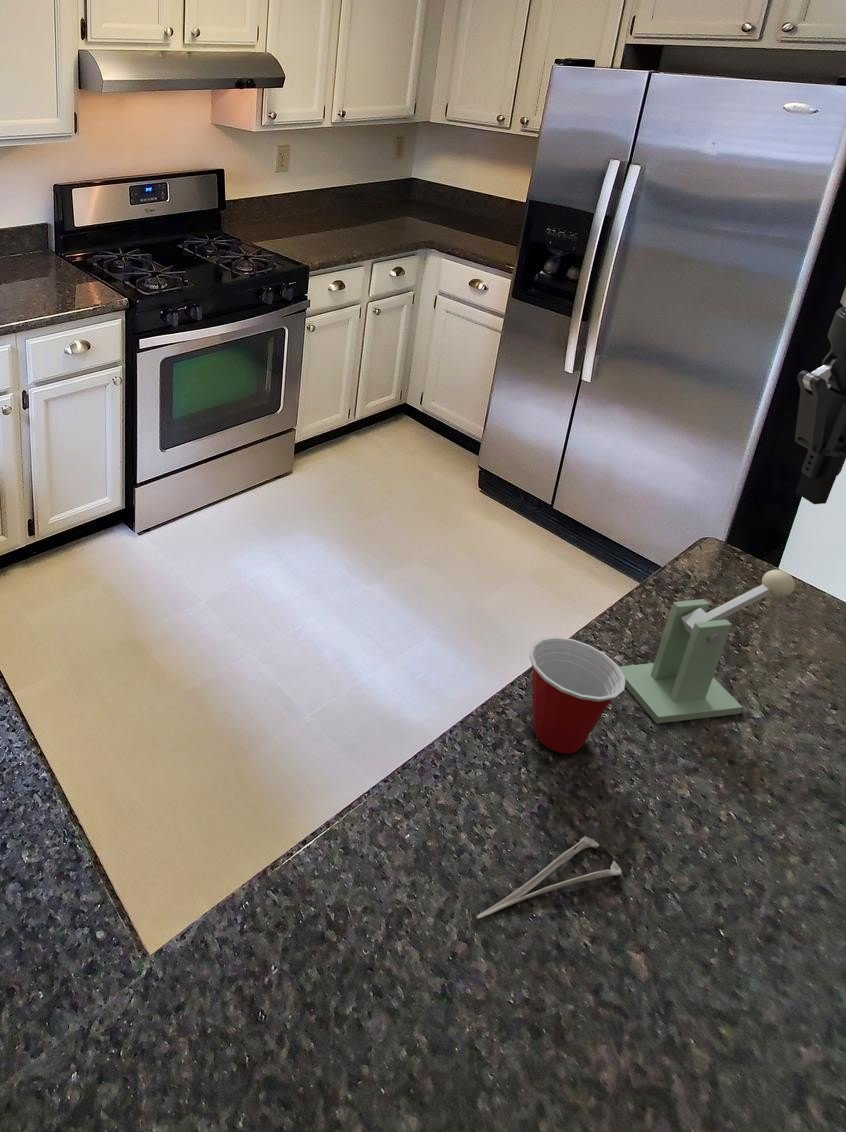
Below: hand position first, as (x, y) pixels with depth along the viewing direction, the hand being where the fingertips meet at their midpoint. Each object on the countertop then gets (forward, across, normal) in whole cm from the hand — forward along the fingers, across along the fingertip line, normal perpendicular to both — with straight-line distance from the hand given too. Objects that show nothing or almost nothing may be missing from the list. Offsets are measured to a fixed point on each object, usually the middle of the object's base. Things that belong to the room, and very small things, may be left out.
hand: (810, 497), depth 96 cm
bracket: (+30, +10, 0) cm, 32 cm away
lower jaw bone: (+31, +42, +23) cm, 57 cm away
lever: (+17, +4, 0) cm, 17 cm away
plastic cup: (+31, +29, +4) cm, 42 cm away
